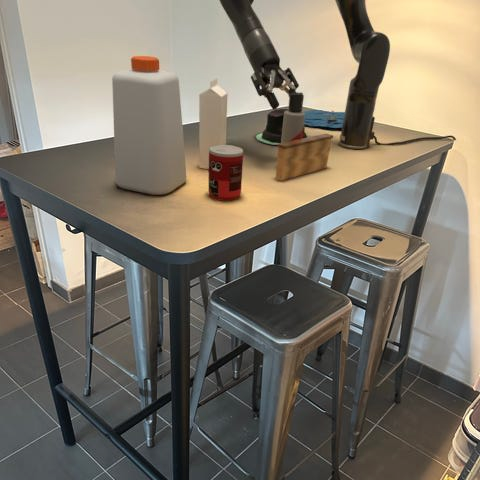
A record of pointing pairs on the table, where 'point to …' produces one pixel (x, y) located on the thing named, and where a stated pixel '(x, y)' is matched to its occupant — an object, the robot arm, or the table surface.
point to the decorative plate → (324, 118)
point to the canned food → (225, 172)
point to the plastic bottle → (148, 128)
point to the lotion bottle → (293, 119)
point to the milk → (211, 121)
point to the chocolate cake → (274, 128)
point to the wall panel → (302, 156)
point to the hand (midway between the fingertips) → (287, 106)
